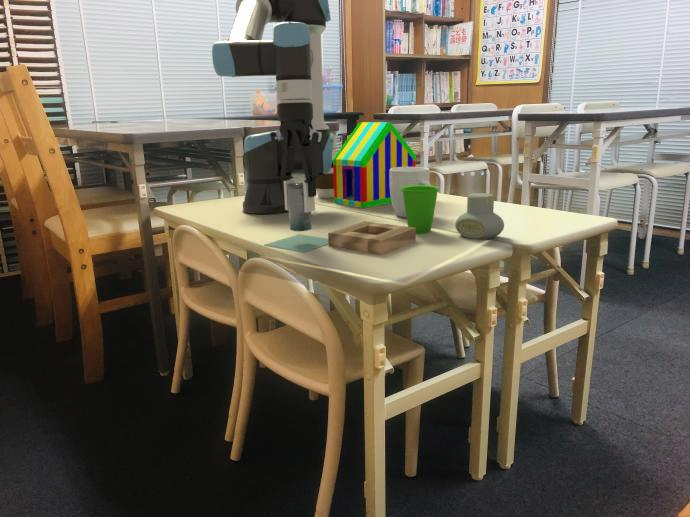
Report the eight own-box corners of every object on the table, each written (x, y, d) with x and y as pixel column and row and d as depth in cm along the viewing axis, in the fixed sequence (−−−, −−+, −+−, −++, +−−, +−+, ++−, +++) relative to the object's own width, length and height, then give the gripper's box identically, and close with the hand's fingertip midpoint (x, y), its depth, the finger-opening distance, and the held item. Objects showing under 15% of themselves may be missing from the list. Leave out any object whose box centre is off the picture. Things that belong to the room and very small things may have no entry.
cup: (397, 229, 137) (397, 185, 134) (433, 228, 138) (434, 184, 135) (404, 238, 128) (404, 191, 125) (442, 236, 129) (443, 189, 126)
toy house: (363, 208, 167) (362, 123, 160) (334, 203, 177) (331, 123, 170) (415, 197, 183) (416, 120, 176) (385, 193, 192) (385, 120, 186)
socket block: (328, 248, 121) (328, 232, 120) (364, 235, 132) (364, 221, 131) (381, 257, 113) (381, 240, 112) (415, 242, 124) (415, 227, 123)
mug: (446, 218, 149) (448, 169, 146) (416, 223, 143) (416, 173, 140) (411, 210, 161) (411, 165, 158) (381, 215, 155) (381, 168, 152)
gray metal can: (284, 229, 123) (282, 185, 120) (299, 225, 127) (297, 182, 124) (301, 232, 120) (299, 186, 117) (316, 227, 124) (314, 183, 121)
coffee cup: (305, 197, 189) (303, 162, 186) (328, 193, 196) (327, 159, 193) (325, 200, 181) (324, 164, 178) (349, 196, 188) (348, 161, 185)
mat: (264, 247, 123) (263, 244, 123) (299, 236, 132) (299, 234, 132) (304, 254, 116) (304, 251, 116) (338, 242, 125) (338, 240, 125)
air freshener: (449, 237, 128) (450, 195, 125) (467, 231, 134) (468, 190, 131) (492, 244, 121) (494, 199, 118) (509, 237, 127) (511, 194, 124)
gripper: (251, 103, 118) (259, 209, 124) (316, 100, 108) (320, 217, 114) (276, 102, 124) (281, 204, 130) (339, 100, 114) (342, 211, 120)
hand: (300, 210), depth 122 cm, fingers closed on gray metal can, 5 cm apart
